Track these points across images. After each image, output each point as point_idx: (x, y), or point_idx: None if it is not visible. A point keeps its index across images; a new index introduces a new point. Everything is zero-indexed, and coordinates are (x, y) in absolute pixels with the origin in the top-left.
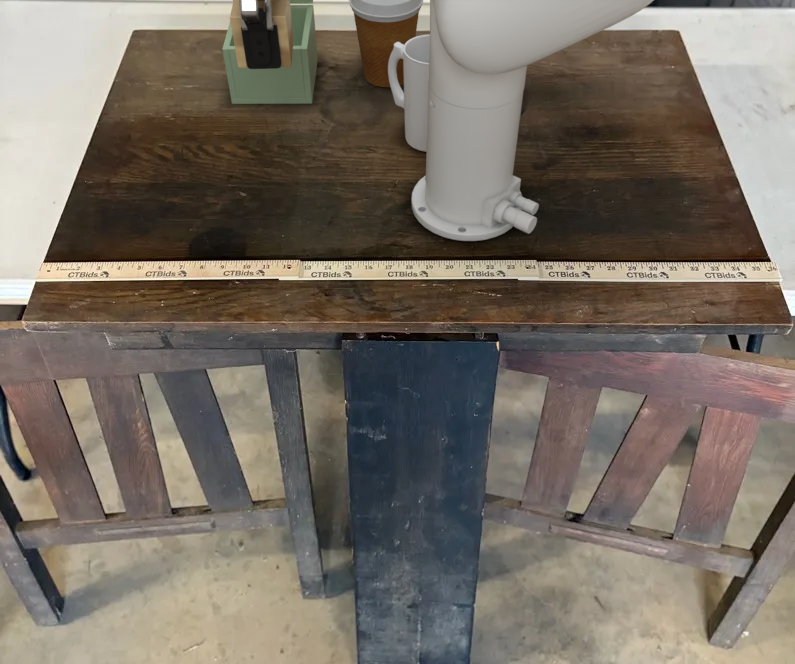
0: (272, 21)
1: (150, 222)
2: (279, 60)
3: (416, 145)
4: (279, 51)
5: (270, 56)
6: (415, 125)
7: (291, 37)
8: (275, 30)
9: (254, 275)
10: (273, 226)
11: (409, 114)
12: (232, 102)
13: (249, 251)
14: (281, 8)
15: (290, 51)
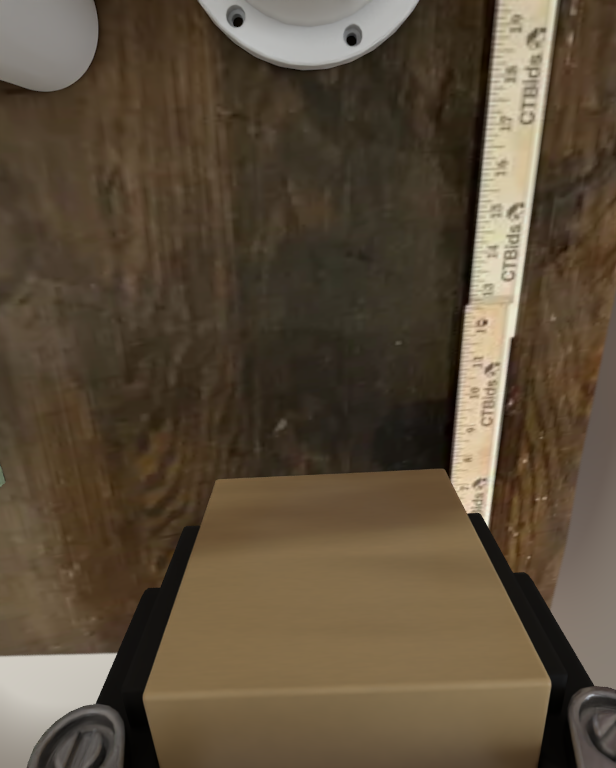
0: (580, 730)
1: None
2: (490, 533)
3: (88, 56)
4: (504, 559)
5: (528, 586)
6: (60, 41)
7: (303, 510)
8: (554, 663)
9: (497, 378)
10: (371, 362)
11: (34, 54)
12: (3, 482)
13: (435, 394)
14: (432, 713)
15: (422, 499)
